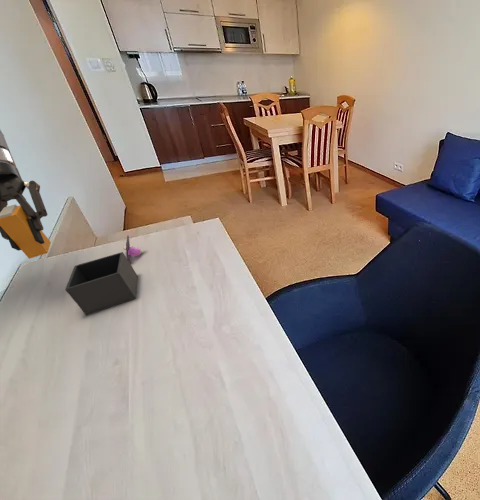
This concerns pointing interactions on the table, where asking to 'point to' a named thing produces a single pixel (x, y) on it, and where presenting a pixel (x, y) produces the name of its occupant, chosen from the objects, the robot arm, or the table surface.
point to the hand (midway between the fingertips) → (28, 245)
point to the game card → (131, 250)
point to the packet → (22, 231)
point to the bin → (102, 283)
